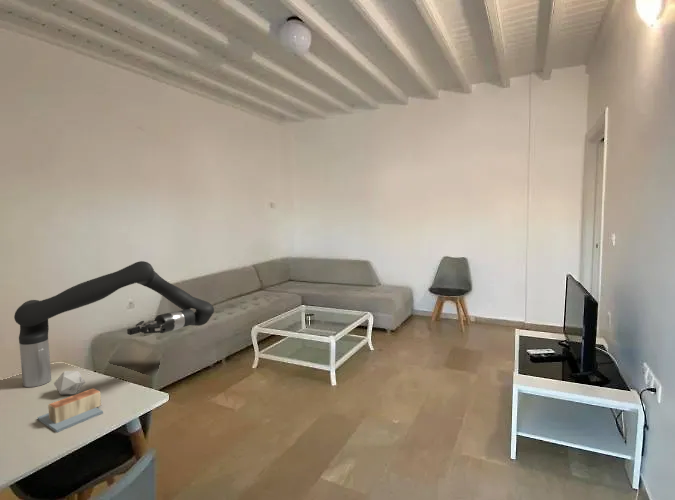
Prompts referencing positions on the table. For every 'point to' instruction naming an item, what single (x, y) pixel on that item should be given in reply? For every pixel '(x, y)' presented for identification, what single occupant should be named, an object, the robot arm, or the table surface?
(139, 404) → the table surface
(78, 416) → the mat
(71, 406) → the beech block
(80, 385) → the die
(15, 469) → the table surface
